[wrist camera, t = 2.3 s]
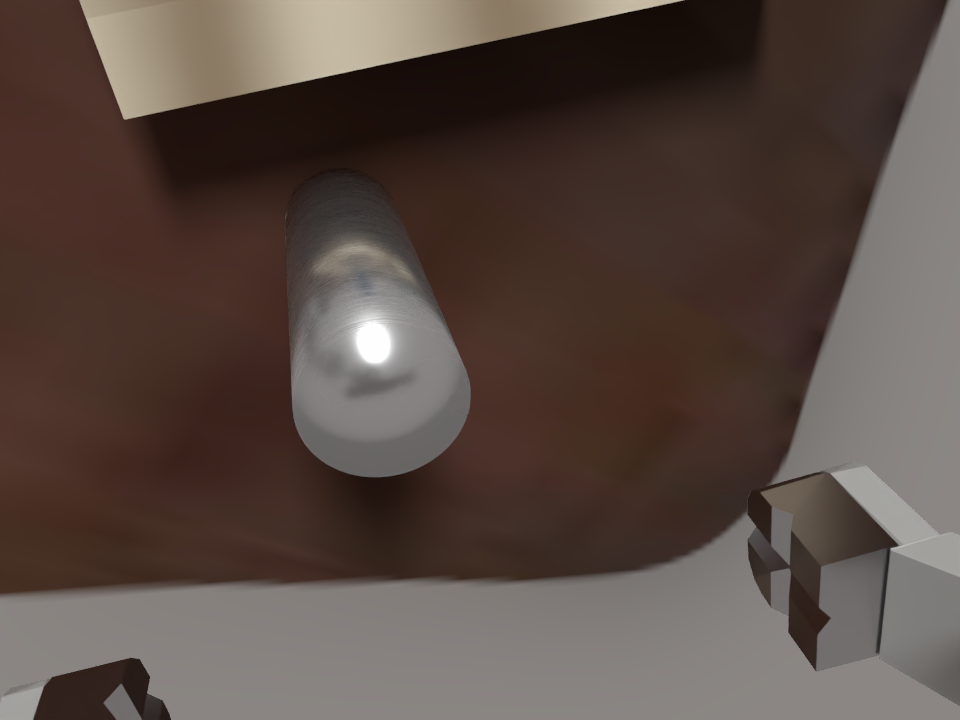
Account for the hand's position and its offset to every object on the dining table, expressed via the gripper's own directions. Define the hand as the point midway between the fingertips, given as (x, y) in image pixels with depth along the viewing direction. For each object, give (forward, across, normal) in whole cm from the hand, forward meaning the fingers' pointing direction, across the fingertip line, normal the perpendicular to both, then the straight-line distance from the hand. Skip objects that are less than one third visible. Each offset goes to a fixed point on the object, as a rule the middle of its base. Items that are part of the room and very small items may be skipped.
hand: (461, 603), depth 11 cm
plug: (+15, +1, 0) cm, 15 cm away
